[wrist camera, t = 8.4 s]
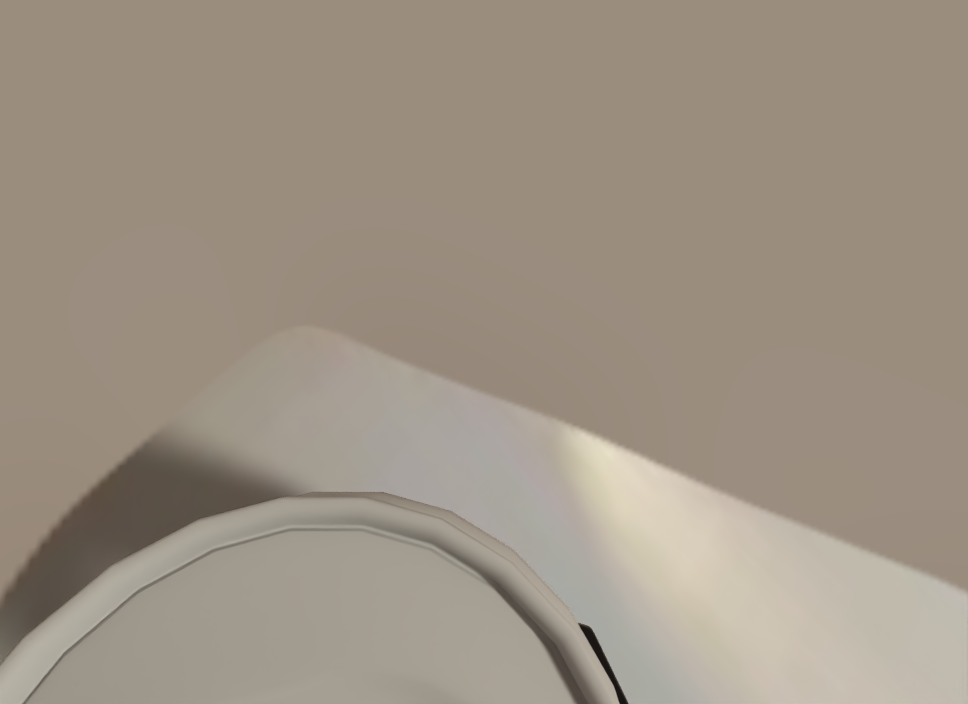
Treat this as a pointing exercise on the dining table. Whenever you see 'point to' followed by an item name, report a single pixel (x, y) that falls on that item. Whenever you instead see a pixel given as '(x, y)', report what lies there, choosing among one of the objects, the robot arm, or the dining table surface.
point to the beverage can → (313, 616)
